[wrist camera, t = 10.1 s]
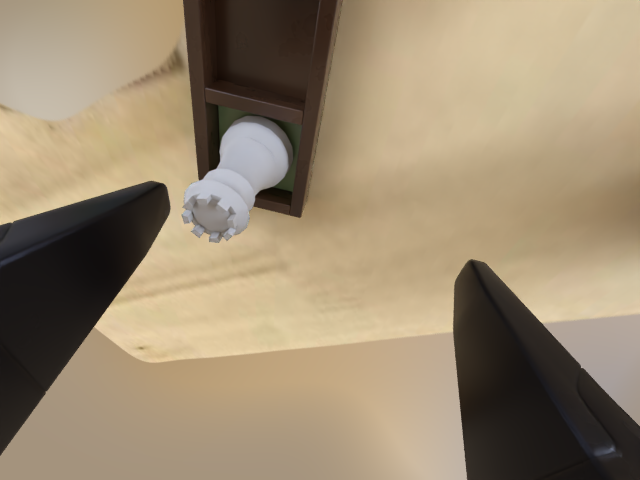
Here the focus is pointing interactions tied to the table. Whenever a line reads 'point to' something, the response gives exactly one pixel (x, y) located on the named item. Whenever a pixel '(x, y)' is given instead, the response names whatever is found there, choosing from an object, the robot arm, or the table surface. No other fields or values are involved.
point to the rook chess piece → (238, 177)
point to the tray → (261, 79)
